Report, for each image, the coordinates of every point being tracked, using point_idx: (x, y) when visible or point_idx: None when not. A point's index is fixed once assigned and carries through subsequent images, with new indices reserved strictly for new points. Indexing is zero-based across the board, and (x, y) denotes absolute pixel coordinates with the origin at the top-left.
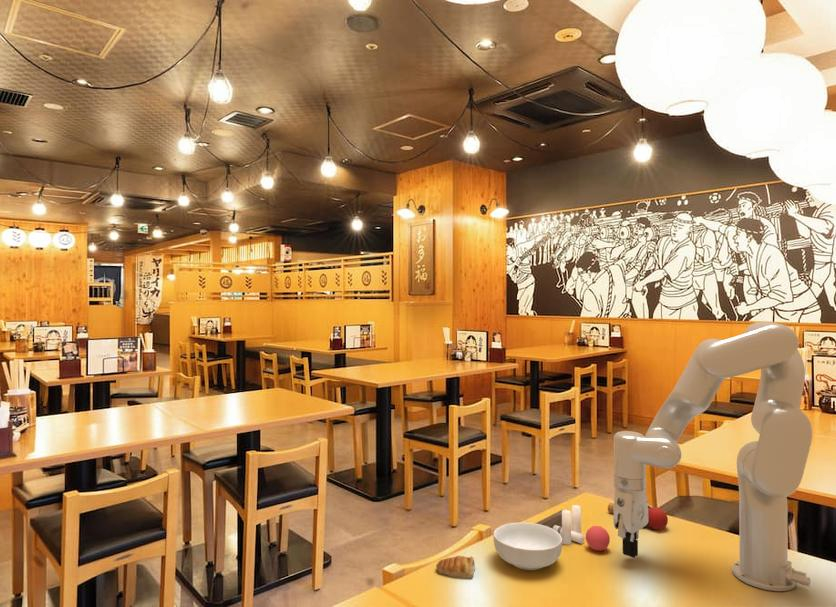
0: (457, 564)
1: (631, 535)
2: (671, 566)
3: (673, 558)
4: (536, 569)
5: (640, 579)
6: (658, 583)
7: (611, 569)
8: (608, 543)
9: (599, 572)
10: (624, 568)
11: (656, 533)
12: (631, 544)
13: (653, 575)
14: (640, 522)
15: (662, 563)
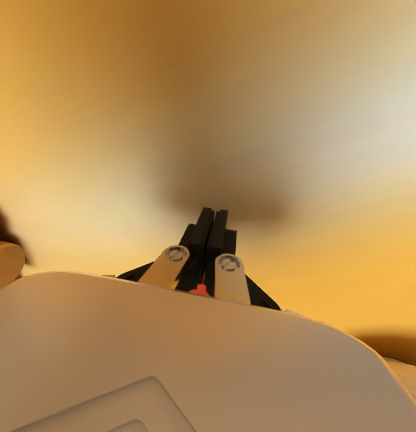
0: None
1: (248, 293)
2: (152, 77)
3: (85, 100)
4: (405, 363)
5: (350, 145)
6: (359, 59)
7: (312, 244)
8: (205, 293)
9: (353, 265)
10: (282, 216)
11: (2, 205)
12: (224, 250)
13: (283, 112)
14: (173, 373)
15: (156, 121)
